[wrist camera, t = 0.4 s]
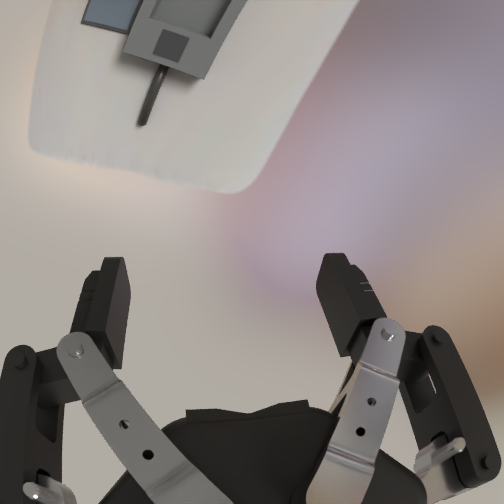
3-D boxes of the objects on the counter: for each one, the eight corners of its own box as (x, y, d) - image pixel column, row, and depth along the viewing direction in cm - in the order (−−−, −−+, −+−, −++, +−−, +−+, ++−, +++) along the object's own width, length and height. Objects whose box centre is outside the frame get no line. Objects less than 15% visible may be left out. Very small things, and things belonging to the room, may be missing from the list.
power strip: (176, -51, 19) (170, -54, 17) (259, -21, 22) (261, -22, 21) (108, 112, 32) (100, 121, 30) (177, 135, 35) (173, 146, 34)
